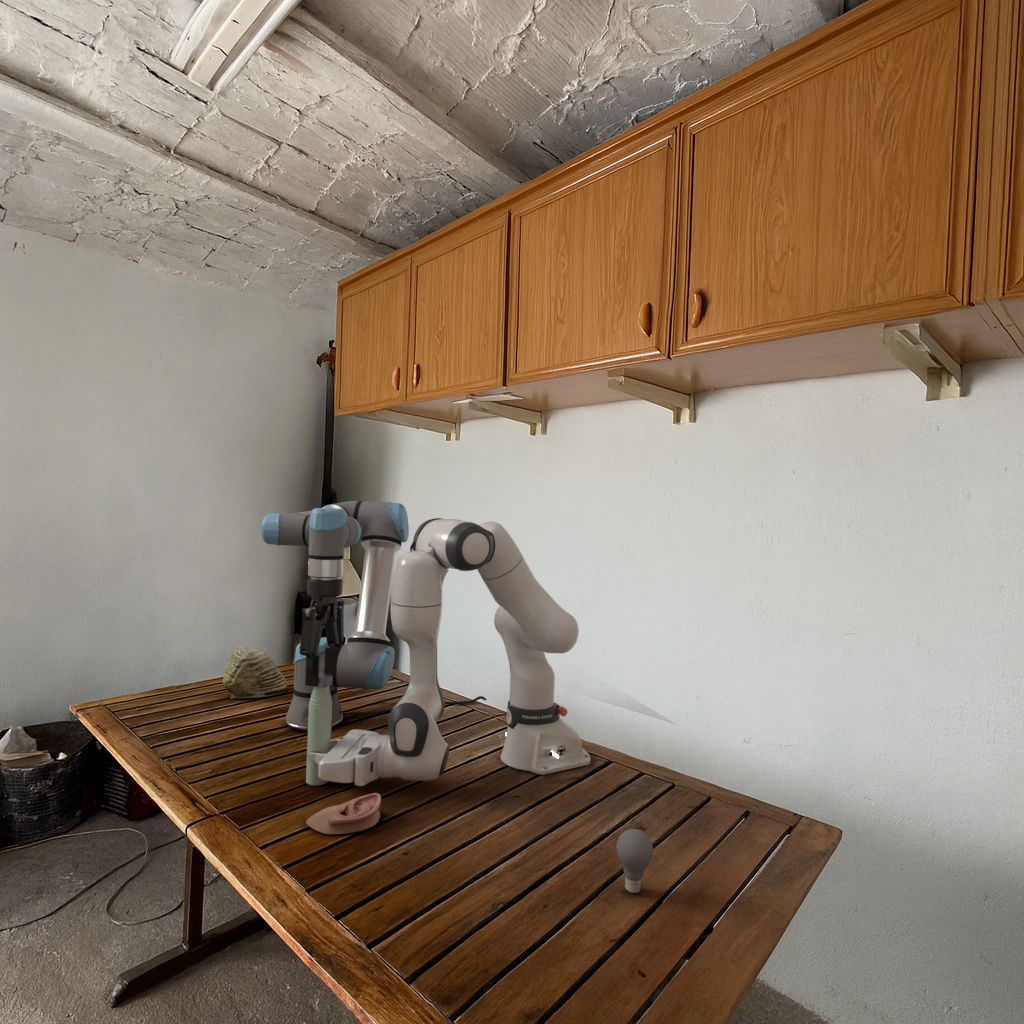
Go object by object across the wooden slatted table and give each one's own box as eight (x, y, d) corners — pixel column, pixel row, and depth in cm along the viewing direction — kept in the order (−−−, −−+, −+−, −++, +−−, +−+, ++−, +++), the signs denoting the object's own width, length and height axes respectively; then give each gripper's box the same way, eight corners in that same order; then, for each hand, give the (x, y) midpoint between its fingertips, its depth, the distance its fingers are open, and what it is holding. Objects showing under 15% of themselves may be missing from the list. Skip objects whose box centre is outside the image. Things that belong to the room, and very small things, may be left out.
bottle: (334, 779, 142) (338, 676, 142) (317, 787, 138) (322, 681, 138) (317, 773, 145) (321, 672, 144) (301, 782, 140) (305, 677, 140)
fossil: (218, 695, 195) (220, 647, 195) (278, 685, 208) (279, 640, 207) (228, 703, 189) (230, 653, 188) (289, 692, 201) (290, 645, 201)
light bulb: (610, 879, 108) (613, 822, 108) (644, 879, 109) (647, 822, 109) (619, 902, 102) (622, 840, 102) (655, 901, 103) (658, 840, 103)
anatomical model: (298, 809, 120) (327, 783, 131) (297, 830, 120) (327, 802, 131) (363, 819, 117) (388, 791, 128) (362, 840, 117) (387, 811, 128)
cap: (336, 684, 142) (337, 674, 142) (321, 689, 138) (322, 679, 138) (321, 680, 144) (321, 671, 144) (305, 685, 140) (306, 675, 140)
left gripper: (333, 572, 151) (329, 668, 151) (283, 581, 132) (279, 691, 132) (362, 574, 149) (358, 671, 149) (315, 584, 130) (311, 695, 130)
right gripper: (389, 725, 150) (333, 720, 151) (360, 759, 130) (295, 754, 131) (388, 751, 150) (332, 746, 152) (359, 790, 130) (294, 784, 131)
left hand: (321, 680), depth 141 cm, fingers open, 7 cm apart
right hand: (314, 750), depth 141 cm, fingers closed on bottle, 5 cm apart
